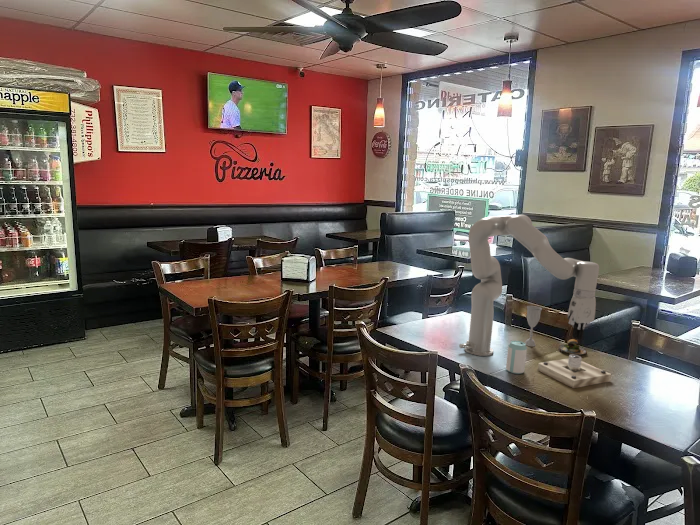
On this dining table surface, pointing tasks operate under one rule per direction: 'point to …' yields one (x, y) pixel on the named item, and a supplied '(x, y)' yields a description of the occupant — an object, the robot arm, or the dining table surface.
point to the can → (516, 357)
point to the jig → (574, 373)
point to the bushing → (574, 363)
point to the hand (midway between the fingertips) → (576, 338)
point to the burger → (572, 348)
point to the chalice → (532, 321)
